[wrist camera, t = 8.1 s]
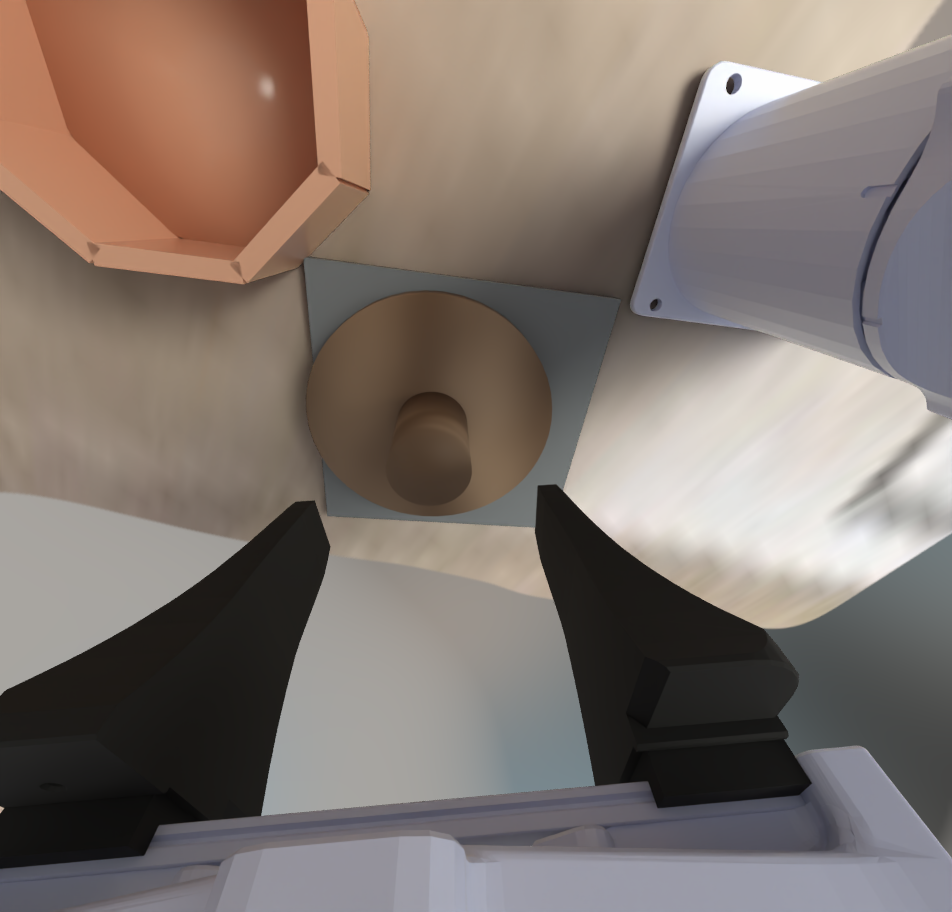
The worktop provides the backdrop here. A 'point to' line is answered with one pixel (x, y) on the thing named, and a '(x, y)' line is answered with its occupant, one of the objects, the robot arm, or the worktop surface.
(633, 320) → the worktop surface
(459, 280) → the mat
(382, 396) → the lid
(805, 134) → the robot arm
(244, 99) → the bowl
